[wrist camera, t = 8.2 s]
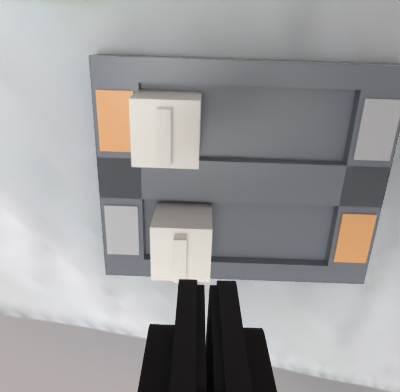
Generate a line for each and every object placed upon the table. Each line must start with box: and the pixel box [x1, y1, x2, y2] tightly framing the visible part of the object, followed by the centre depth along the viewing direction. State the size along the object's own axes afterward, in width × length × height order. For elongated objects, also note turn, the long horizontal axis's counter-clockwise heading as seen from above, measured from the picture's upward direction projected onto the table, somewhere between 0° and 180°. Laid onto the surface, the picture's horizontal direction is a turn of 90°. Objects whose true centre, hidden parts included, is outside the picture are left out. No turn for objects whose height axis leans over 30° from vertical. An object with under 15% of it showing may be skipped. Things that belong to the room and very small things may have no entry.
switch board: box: [89, 54, 400, 284], centre depth 27 cm, size 20×16×2 cm
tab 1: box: [129, 89, 202, 169], centre depth 23 cm, size 4×4×5 cm
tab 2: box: [150, 202, 213, 283], centre depth 26 cm, size 4×4×5 cm
